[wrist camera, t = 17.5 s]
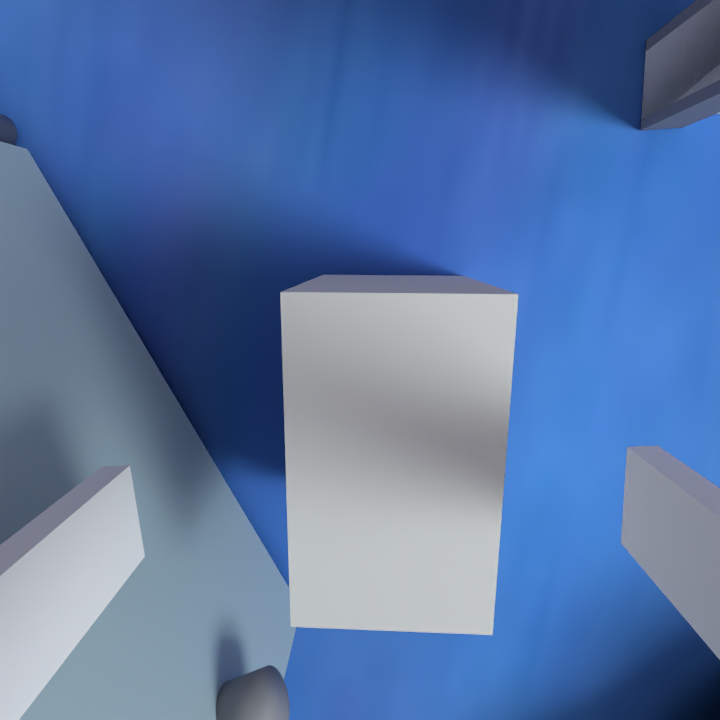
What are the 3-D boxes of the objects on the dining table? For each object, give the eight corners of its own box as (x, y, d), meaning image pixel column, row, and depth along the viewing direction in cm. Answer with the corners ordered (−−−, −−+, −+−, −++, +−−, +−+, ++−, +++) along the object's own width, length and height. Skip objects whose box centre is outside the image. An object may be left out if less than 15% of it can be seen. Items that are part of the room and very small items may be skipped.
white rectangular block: (325, 485, 23) (290, 626, 15) (323, 274, 21) (280, 292, 12) (451, 489, 23) (492, 634, 14) (462, 275, 21) (518, 294, 12)
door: (-25, 125, 20) (-866, -130, 7) (37, 86, 20) (-730, -273, 6) (274, 614, 25) (139, 1059, 11) (329, 591, 24) (260, 1026, 11)
